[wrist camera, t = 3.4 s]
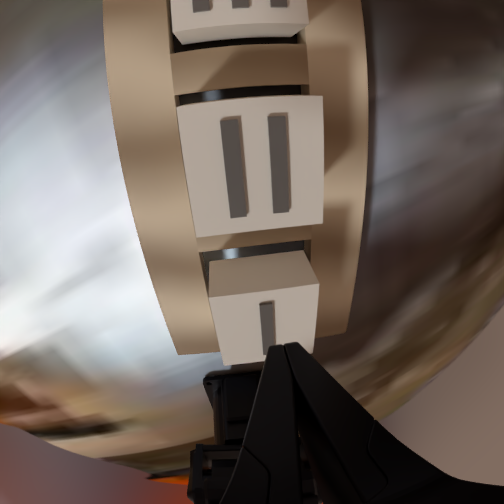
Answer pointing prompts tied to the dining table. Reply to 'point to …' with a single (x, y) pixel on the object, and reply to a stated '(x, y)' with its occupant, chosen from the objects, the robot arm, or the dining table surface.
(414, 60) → the dining table surface
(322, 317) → the tan curved board
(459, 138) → the dining table surface
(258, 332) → the tile one
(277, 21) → the tile three
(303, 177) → the tile two
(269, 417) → the robot arm
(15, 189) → the dining table surface
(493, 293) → the dining table surface
